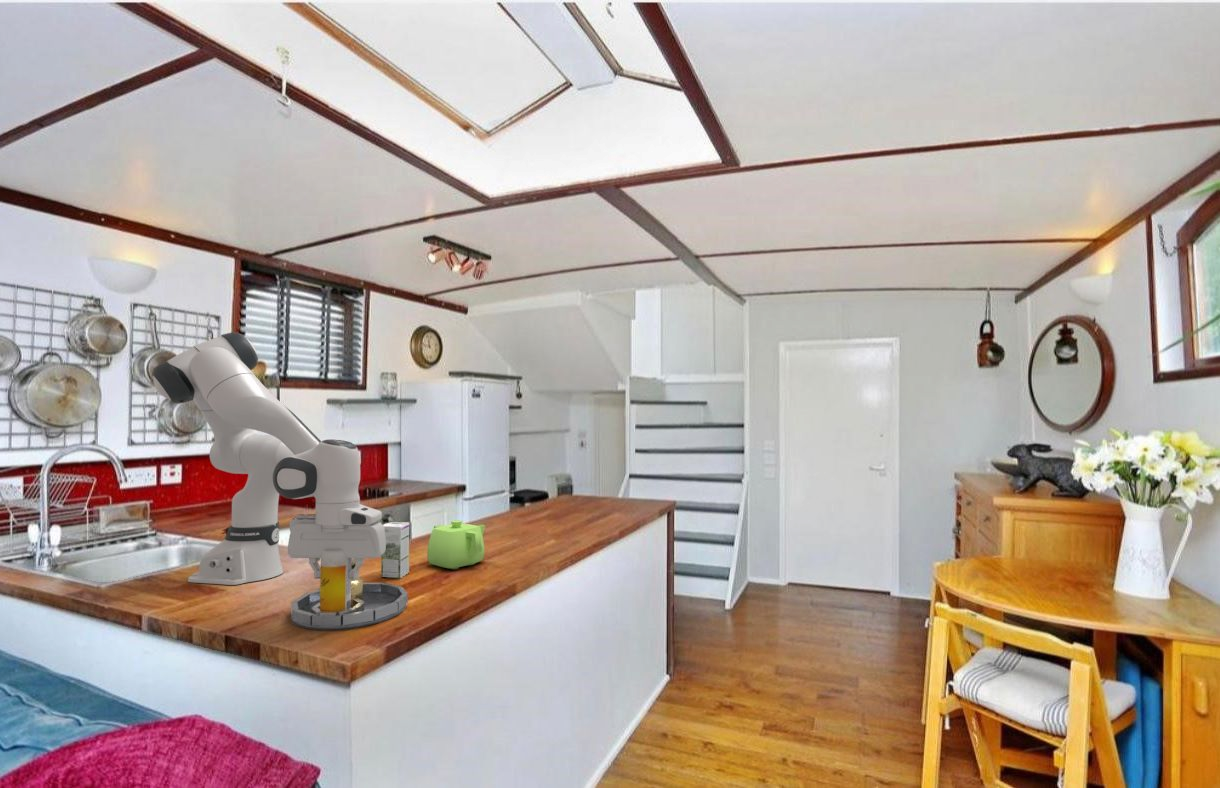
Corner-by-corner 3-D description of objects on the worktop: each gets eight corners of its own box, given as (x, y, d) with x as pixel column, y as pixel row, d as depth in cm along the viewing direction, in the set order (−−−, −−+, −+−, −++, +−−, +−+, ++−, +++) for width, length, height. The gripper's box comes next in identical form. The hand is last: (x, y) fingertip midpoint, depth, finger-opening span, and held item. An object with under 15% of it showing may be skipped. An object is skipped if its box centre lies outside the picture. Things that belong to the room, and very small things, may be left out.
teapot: (463, 552, 194) (463, 512, 194) (507, 562, 182) (507, 518, 182) (414, 564, 179) (415, 520, 179) (459, 575, 167) (459, 528, 168)
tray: (268, 630, 125) (269, 596, 126) (322, 594, 149) (323, 566, 150) (383, 630, 126) (384, 596, 126) (419, 594, 150) (419, 566, 150)
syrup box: (409, 573, 169) (410, 521, 169) (400, 579, 163) (400, 525, 164) (390, 572, 170) (390, 521, 170) (380, 578, 164) (380, 525, 164)
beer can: (325, 613, 133) (326, 545, 133) (354, 612, 134) (355, 544, 134) (315, 622, 127) (316, 551, 127) (345, 622, 128) (346, 551, 128)
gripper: (282, 516, 128) (280, 581, 128) (378, 517, 128) (377, 582, 128) (297, 511, 134) (296, 573, 134) (389, 512, 134) (388, 574, 134)
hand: (336, 578), depth 131 cm, fingers open, 6 cm apart
